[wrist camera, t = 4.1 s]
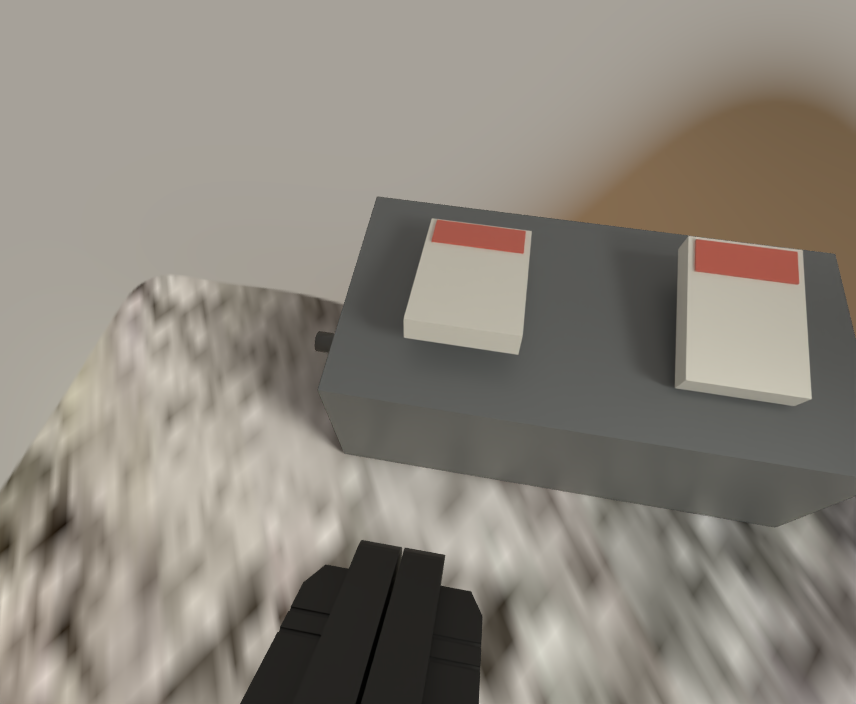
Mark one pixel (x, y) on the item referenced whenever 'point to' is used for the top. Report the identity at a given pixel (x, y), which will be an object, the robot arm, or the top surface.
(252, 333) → the top surface
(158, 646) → the top surface
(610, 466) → the switch box
